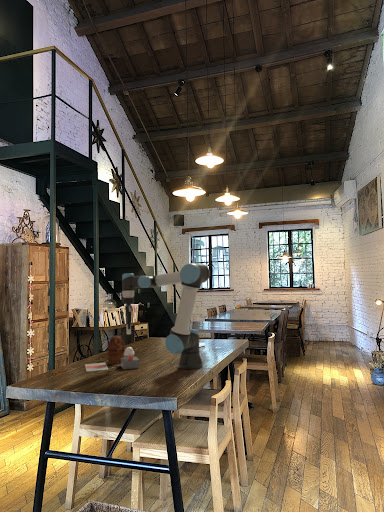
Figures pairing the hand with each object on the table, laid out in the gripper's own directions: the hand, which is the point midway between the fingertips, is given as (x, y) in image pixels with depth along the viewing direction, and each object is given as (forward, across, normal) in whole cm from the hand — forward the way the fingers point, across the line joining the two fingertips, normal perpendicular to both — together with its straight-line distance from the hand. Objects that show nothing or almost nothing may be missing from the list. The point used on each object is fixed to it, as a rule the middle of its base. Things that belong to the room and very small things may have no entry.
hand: (128, 334), depth 242 cm
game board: (+20, -7, -20) cm, 29 cm away
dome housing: (+20, +2, 0) cm, 20 cm away
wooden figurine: (+21, -15, -6) cm, 26 cm away
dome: (+14, 0, 0) cm, 14 cm away
